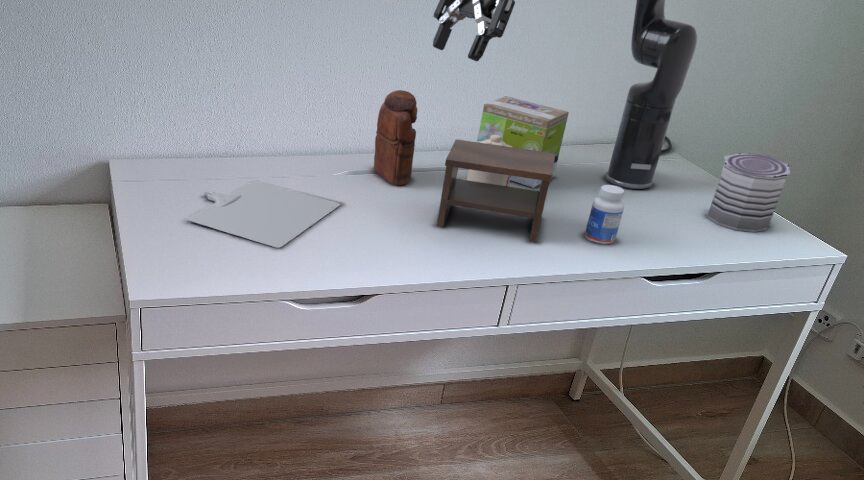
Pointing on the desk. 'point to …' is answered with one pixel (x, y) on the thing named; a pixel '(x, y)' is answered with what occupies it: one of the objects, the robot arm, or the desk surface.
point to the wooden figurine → (396, 137)
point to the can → (748, 191)
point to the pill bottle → (605, 215)
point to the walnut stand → (491, 194)
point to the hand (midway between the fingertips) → (454, 54)
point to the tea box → (524, 128)
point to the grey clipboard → (263, 213)
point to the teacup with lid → (487, 176)
